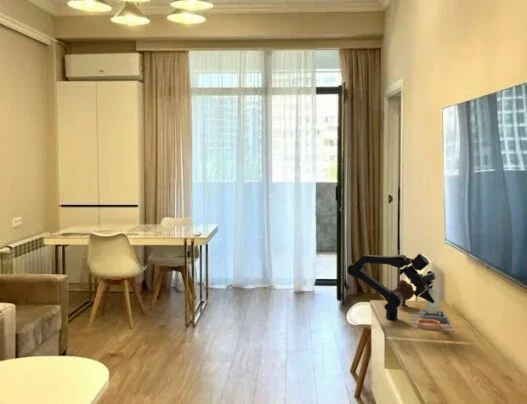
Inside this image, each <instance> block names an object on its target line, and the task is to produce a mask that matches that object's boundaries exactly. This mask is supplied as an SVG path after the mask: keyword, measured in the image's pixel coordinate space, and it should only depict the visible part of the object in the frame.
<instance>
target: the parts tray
mask: <svg viewBox="0 0 527 404" xmlns="http://www.w3.org/2000/svg"><path fill="white" fill-rule="evenodd" d="M419 313H420V317H421V319H433V320H436V321H439V322H442V323H447V319H448V317H447V315H446V313H445V312H444V310H438V313H436V314H431V313H427V312H426V309H419Z"/></svg>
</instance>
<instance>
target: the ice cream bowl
mask: <svg viewBox="0 0 527 404" xmlns="http://www.w3.org/2000/svg"><path fill="white" fill-rule="evenodd" d="M394 289H395V290H397V291H398V292H399V293H401V294H400V295H402V296H403V302H402V304H400V305H399V307H404V308H406V307H407V308H408V307H409V305H407V304H406V301H408V300H411V299H412V298H413V297H414V296H415V295H414V291H415V289H414V286H413V284H411V283H410V282H409V283H408V281H406V280H404V279H401V280H399V281H398V282H397V286H396V288H394Z"/></svg>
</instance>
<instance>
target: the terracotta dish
mask: <svg viewBox="0 0 527 404" xmlns="http://www.w3.org/2000/svg"><path fill="white" fill-rule="evenodd" d="M416 325H417V327H420V328H423V329H432V330H435V329H439V328H440V327H441V324H440V322H439V321H436V320H433V319H418V320H416ZM432 330H431V331H432Z"/></svg>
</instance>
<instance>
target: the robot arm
mask: <svg viewBox="0 0 527 404" xmlns="http://www.w3.org/2000/svg"><path fill="white" fill-rule="evenodd" d="M366 264H378V265H380V264H381V265H389V266H392V267H395V268H397V269H398V268H399V276H401V275H403V274H404V275H405V276H406V278H407V279H408V280H409V284H411V285H412V286H413V287H415V289H414V295H413V296H415V297H416V298H417V297H419V298H422V299H424V300H425V301H426V300H427V301H429V302H431V303H434V300H433V298H432V297H431V295H430V294H429V289H433V288H434V287H433V286H434V284H433V283H434V281H435V279H437V277H436V273H435V272H433V271H431V270H429V271H427V272H426V274H424V275H423V273H419V272H418V271H420V272H421V271H423V269H425V268H426V267H427V266H429V265H430V261H429V259H428V258H427V257H425V256H424V255H422V253H418V254H417V255H416V256H415V257H414V258H409V257H407V256H406V255H404V254H398V255H397V254H395V255H390V256H389V255H387V256H386V255H375V254H374V255H373V254H366V253H365V254H364V255H362V256H361V257H360V258H359V259H358V260H356V262H354V263H351V264H349V265H348V267H347V269H346V270H347V274H348V275H349V276H351V277H353V278H355V279H357V280H361V281H362V282H363V283H365V284H366V285H367V286H369V287H370V288H372V290H374V291H375V292H377V293H378V294H379V295H381V296H383V298H384V299H385V301H386V303H385V304H384V310H385V319H387V320H388V321H394V322H395V321H396V320H398V310H399V309H398V308H399V307H400V306H399V305H401V304H402V302H403V296H402V295H400V294H401V293H399V292H398V291H397V290H395V289H396V288H394V289H389V288H387V287H386V286H385V285H384V284H382V283H381V282H379V281H378V280H377V279H376V278H374V277H373V276H372V275H370V274H368V272H367V271H366V270H365V268H364V266H365V265H366ZM409 265H410V266H409Z"/></svg>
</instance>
